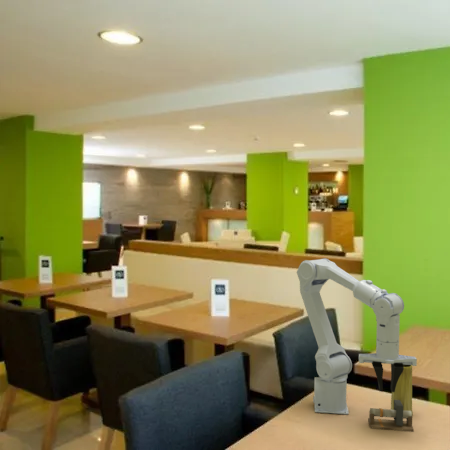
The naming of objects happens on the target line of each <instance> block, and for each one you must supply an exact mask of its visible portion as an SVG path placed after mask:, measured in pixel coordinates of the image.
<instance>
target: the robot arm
mask: <svg viewBox="0 0 450 450" xmlns="http://www.w3.org/2000/svg"><path fill="white" fill-rule="evenodd" d="M296 274H297V278H298V280H299V291H300V295H301V299H302V301H303V305H304V308H305V310H306V313H307V317H308V320H309V323H310V325H311V328H312V332H313V335H314V337H315V341H316V343H317V348H318V349H317V351H316V353H315V356H314V359H315V361H316V362H315V363H316V365H315V368H316V372H317V375H318V377H317V376H316V377H315V376H314V386H313V388H314V394H313V396H312V397H313V398H312V400H313V401H312V402H313V404H314V412H315V413H323V414H337V415H349V408H348V404H347V384H348V383H347V379H348V378H349V377H348V375H349V374H350V373H351V372H352V368H353V363H352V360H351V358H350V356H348V354H347V353H346V350H345V347H343V346H342V345H340V344H339V343H338V342H337V340H336V336H335V334H334V332H333V328H332V325H331V322H330V319H329V317H328V313H327V310H326V308H325V305H324V302H323V298H322V295H321V290H322V288H323V286H324V285H326V283H327V282H328V281H329V280H331V281H333V282H335V283H337V284H339V285H341V286H343V287H344V288H346V289H348V290H349V291H351V292H352V294H353V297H354V298H355V299H357V300H358V301H360V302H361V303H363V304H364V305H366V306H368V307H369V308H371V309H372V310H373V313H374V315H375V318H376V319H375V320H376V341H375V342H376V346H375V347H376V349H375V352H373V353H358V363H359V364H364V363H370V364H372V365H371V366H372V368H373V370H374V373H375V376H376V378H377V379H376V380H377V384H378V385H377V386H378V391H379V392H383V389H384V385H383V378H384V377H383V374H384V367H383V364H387V365H388V364H389V365H390V374H391V378H390V391H391V393H392V392H395V388H396V384H397V382H398V379H399V377H400V375H401V374H402V372H403V370H404V367H403V365H412V367H417V364H418V363H417V362H418V361H417V360H418V359H417V357H416V356H411V355H403V354H399V353H400V325H401V324H400V323H401V322H400V318H401V317H400V314H402V313H403V311H404V310H405V303H404V300H403V298H402V297H401V296H400V295H398V293H395V292H390V293H388V290H387V289H385V288H383V289H382V288H381V287H378V286H377V285H376V284H374V282H373V281H372V280H370V279H367V280H366V279H362V280H359V279H357V278H356V277H354V276H353V275H351V274H349V273H348V272H347V271H345V270H344V269H342V268H341V267H339V266H338V265H337V264H336V263H335V261H331V260H329V258H326V257H325V258H320V259H312V260H307V259H305V260H303V261H301V263H300V264H299V266H298V268H297V270H296Z"/></svg>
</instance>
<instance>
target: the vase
mask: <svg viewBox="0 0 450 450" xmlns="http://www.w3.org/2000/svg"><path fill="white" fill-rule="evenodd" d="M403 367H404V370H403V372H402V374H401V375H400V377H399V379H398V382H397V384H396V388H395V392H392V391H391V397H390V410H394V400H400V401H401V403H402V405H403V410H405V411H411V412H412V416H413V413H414V412H413V366H412V365H403Z"/></svg>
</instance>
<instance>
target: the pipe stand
mask: <svg viewBox="0 0 450 450" xmlns="http://www.w3.org/2000/svg"><path fill="white" fill-rule="evenodd" d="M390 409H391V408H390ZM390 409H386V408H382V407H381V408H374V407H373V408H371V407H370V408H369V412H368V413H369V417H368V418H367V420H368V424H369V428H370V429H374V430H375V429H376V430H388V431H389V430H390V431H402V432H403V431H404V432H414V427H413V415H412V412H413V411H412V412H411V411H405V410H403V419H406V420H403V426H399V425H396V423H395V421H394V418H396V410H390ZM375 417H379V418H375ZM385 418H393V419H385Z"/></svg>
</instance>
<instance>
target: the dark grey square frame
mask: <svg viewBox="0 0 450 450" xmlns="http://www.w3.org/2000/svg"><path fill="white" fill-rule="evenodd" d="M394 410H396V418H393V420H394V421H395V423H396V425H399V426H403V421H404V418H403V405H402V403H401V401H400V400H394Z"/></svg>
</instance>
